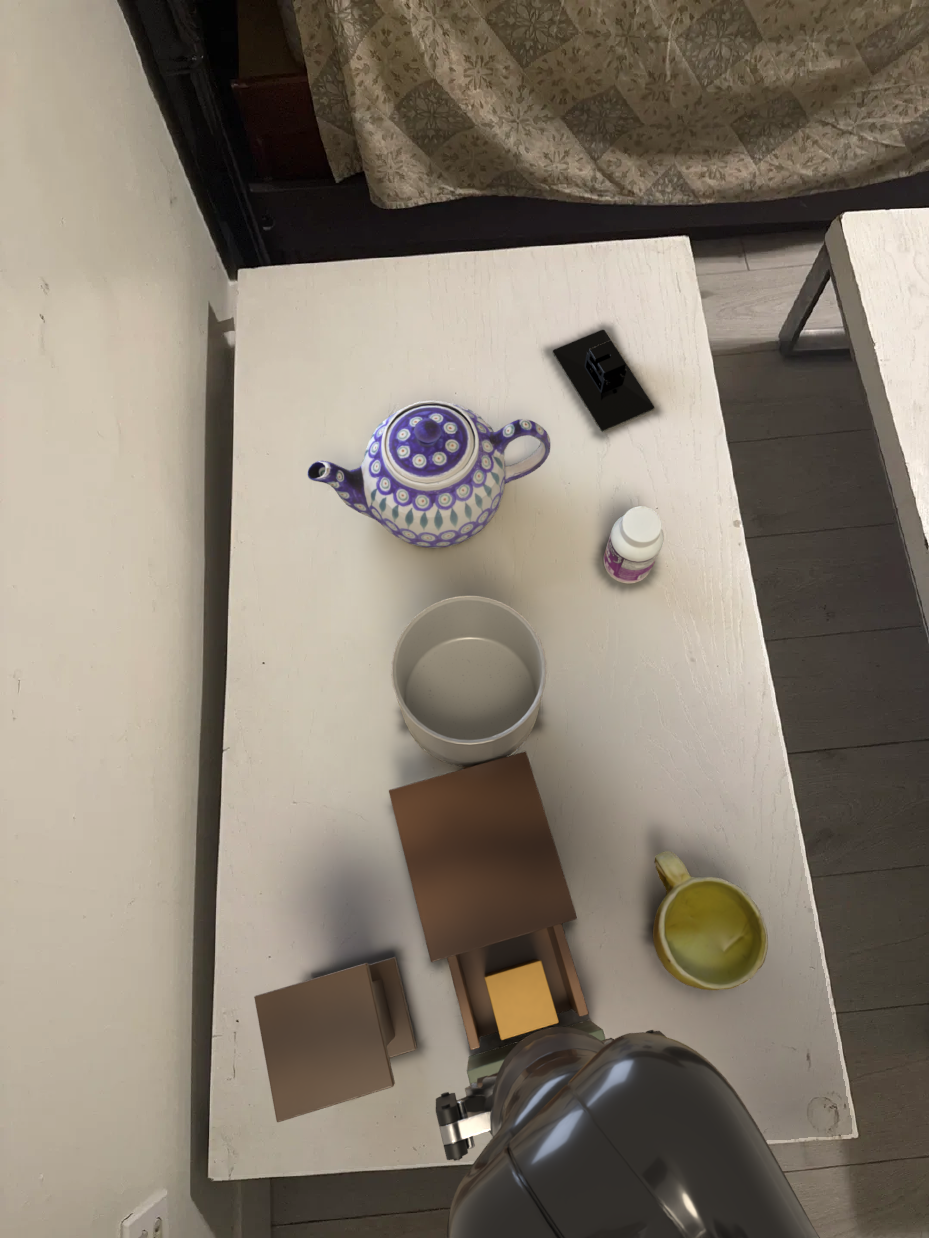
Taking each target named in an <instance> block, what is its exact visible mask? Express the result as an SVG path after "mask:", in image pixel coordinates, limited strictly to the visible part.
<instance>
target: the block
mask: <svg viewBox="0 0 929 1238" xmlns="http://www.w3.org/2000/svg"><path fill="white" fill-rule="evenodd" d="M485 982H486V985H487V989H488V993H489V997H490V1000H491V1004H492V1008H493V1012H494V1016H495V1019H496V1023H497V1027H498V1031H499V1032H498V1034H499V1038H500V1040H501V1041H504V1040H507V1039H510V1038H513V1037H517V1036H521V1035H523V1034H526V1033H529V1032H533V1031H536V1030H541V1029H542V1028H543V1029H544V1028H547V1027H550V1026H553V1025H557V1024H559V1021H560V1020H559V1017H558V1014H556V1010H555V1007H554V1003H553V1000H552V996H551V993H550V989H549V986H548V982H547V979H546V975H545V972H544V968H543V965H542V961H541V960H538V959H534V960H531V961H527V962H524V963H521V964H517V965H514V966H511V967H507V968H504V969H501V970H497V971H494V972H491V973H487V974H485Z"/></svg>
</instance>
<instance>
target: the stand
mask: <svg viewBox="0 0 929 1238" xmlns="http://www.w3.org/2000/svg"><path fill="white" fill-rule="evenodd" d="M254 1003H255V1008H256V1015H257V1020H258V1026H259V1032H260V1037H261V1042H262V1049H263V1053H264V1060H265V1065H266V1070H267V1076H268V1082H269V1087H270V1092H271V1098H272V1103H273V1104H272V1105H273V1109H274V1115H275V1120H276V1123H281V1122H284V1121H287V1120H290V1119H295V1118H297V1117H300V1116H304V1115H307V1114H310V1113H313V1112H316V1111H321V1110H322V1109H326V1108H329V1107H332V1106H336V1105H339V1104H342V1103H346V1102H349V1101H352V1100H356V1099H359V1098H361V1097H366V1096H367V1095H368V1096H369V1095H371V1094H374V1093H378V1092H381V1091H384V1090H388V1089H392V1088H393V1087H394V1086H395V1085H396V1082H395V1081H396V1080H395V1077H394V1072H393V1068H392V1063H391V1059H392V1058H394V1057H398V1056H401V1055H404V1054H407V1053H411V1052H414V1051H416V1050H417V1048H418V1044H417V1041H416V1037H415V1033H414V1029H413V1025H412V1020H411V1016H410V1012H409V1007H408V1003H407V999H406V995H405V990H404V986H403V982H402V977H401V974H400V969H399V965H398V961H397V957H396V956H393V957H390V958H385V959H382V960H379V961H376V962H372V963H368V962H364V963H360V964H356V965H353V966H351V967H348V968H344V969H340V970H337V971H334V972H329V973H328V974H324V975H320V976H317V977H314V978H309V979H306V980H304V981H300V982H297V983H294V984H289V985H287V986H284V987H280V988H277V989H274V990H271V991H267V992H264V993H260V994H257V995H254Z"/></svg>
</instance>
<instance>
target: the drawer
mask: <svg viewBox="0 0 929 1238" xmlns="http://www.w3.org/2000/svg"><path fill="white" fill-rule="evenodd" d="M564 930H565V929H564V927H563V923H561V924H558V925H555V926H551V927H548V928H545V929H541V930H538V931H535V932H531V933H528V934H525V935H521V936H518V937H515V938H511V939H508V940H505V941H501V942H498V943H495V944H491V945H488V946H485V947H481V948H478V949H475V950H471V951H468V952H465V953H461V954H458V955H455V956H451V957H448V958H446V959H447V964H448V967H449V971H450V975H451V979H452V982H453V986H454V987H453V988H454V991H455V995H456V998H457V1002H458V1003H457V1004H458V1007H459V1010H460V1014H461V1017H462V1022H463V1026H464V1030H465V1034H466V1038H467V1042H468V1046H469V1050H470V1051H473V1050H476V1049H479V1048H481V1038H483V1037H487V1036H489V1035H493V1034H497V1033H499V1031H498V1027H497V1023H496V1019H495V1016H494V1012H493V1008H492V1004H491V1000H490V997H489V993H488V989H487V985H486V982H485V974H487V973H491V972H494V971H497V970H501V969H504V968H507V967H511V966H514V965H517V964H521V963H524V962H527V961H531V960H534V959H538V960H541V961H542V965H543V968H544V972H545V975H546V979H547V982H548V986H549V989H550V993H551V996H552V1000H553V1003H554V1007H555V1010H556V1014H557V1015H558V1014H562V1013H565V1012H568V1011H572V1012H574V1013H575V1014H576V1015H577V1016H578V1017H583V1016H587V1015H589V1009H588V1007H587V1003H586V1000H585V997H584V993H583V990H582V987H581V984H580V980H579V977H578V973H577V970H576V967H575V963H574V959H573V956H572V953H571V950H570V947H569V943H568V940H567V937H566V936H567V935H566V934H565V931H564ZM566 1027H568V1028H574V1029H578V1030H581V1031H584V1032H587V1033H589V1034H591V1035H593V1036H594V1037H596V1038H598V1039H599V1040H600V1041H602V1040H605V1039H606V1035H605V1033H604V1029H603V1028H602V1027H600V1025H598V1024H597V1023H596V1022H594V1021H593V1020H591V1019H586V1020H583V1021H580V1022H576V1023H574V1024H569V1025H567V1026H566ZM520 1041H521V1040H519V1041H515V1042H512V1043H508V1044H505V1045H502V1046H499V1047H496V1048H492V1049H489V1050H486V1051H483V1052H482V1051H481V1052H480V1053H476V1054H473V1055H470V1056H468V1059H467V1068H466V1074H467V1078H468V1082H469V1085H470V1084H471V1083H474V1082H477V1078H480V1077H484V1076H490V1075H492V1074H495V1073H497V1072H499V1069H500V1067H501V1065H502V1063H503V1061H504V1060H505V1058H506V1057H507V1055H508V1054H509V1052H510V1051H511V1050H512V1049H513V1048H514V1047H515V1046H516V1045H517V1044H518V1043H519V1042H520Z"/></svg>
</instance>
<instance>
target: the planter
mask: <svg viewBox="0 0 929 1238" xmlns="http://www.w3.org/2000/svg"><path fill="white" fill-rule="evenodd" d="M545 653H546V652H545V648H544V646H543V643H542V641H541V639H540V636H539V635H538V633H537V631H536V629H534V627H533V626H532V625H531V623H530V622H529V621H528V620H527V618H525V617H524V616H523V615H522V614H521V613H520V612H518V611H517V610H515V609H514V608H513V607H511V606H509V605H508V604H505V603H504V602H501V601H499V600H496V599H494V598H492V597H491V598H490V597H485V596H480V595H458V596H452V597H449V598H444V599H442V600H440V601H437V602H434V603H433V604H431V605H429V606H428V607H425V608H424V609H422V610H421V611H420V612H419V613H418V614H416V615H415V616H414V617H413V618H412V619H411V620H410V621H409V622H408V623H407V625H406V626H405V627H404V629H403V630H402V632H401V633H400V636H399V637H398V639H397V641H396V644H395V647H394V650H393V653H392V657H391V659H392V660H391V670H390V672H391V673H390V676H391V682H392V687H393V691H394V694H395V697H396V700H397V704H398V706H399V708H400V712H401V714H402V717H403V721H404V722H405V723H404V724H405V725H406V728H407V729H408V732H409V733H410V735H411V736H412V738H413V739H414V741H415V742H416V743H417V744H418V745H419V746H420V748H422V749H423V750H424V751H425V752H427V753H428V754H429V755H430V756H432V757H434V758H436V759H437V760H438V761H441V762H444V763H446V764H449V765H453V766H459V767H462V769H465V768H468V767H472V766H475V765H479V764H483V763H486V762H490V761H493V760H497V759H500V758H504V757H507V756H511V755H512V754H513V753H514V752H515V751H517V750H518V749H519V748H520V747H521V746H522V745H523V744H524V742H525V741H526V740H527V739H528V737H529V736H530V734H531V733H532V731H533V729H534V726H535V725H536V722H537V718H538V715H539V711H540V708H541V707H540V706H541V703H542V699H543V694H544V692H545V691H544V690H545V687H546V684H547V683H546V682H547V671H548V670H547V669H548V668H547V659H546V654H545Z"/></svg>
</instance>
